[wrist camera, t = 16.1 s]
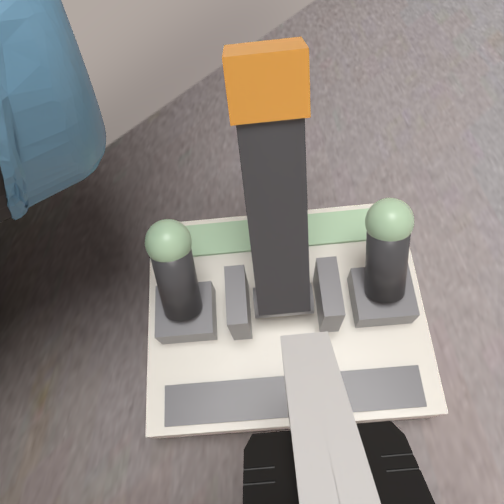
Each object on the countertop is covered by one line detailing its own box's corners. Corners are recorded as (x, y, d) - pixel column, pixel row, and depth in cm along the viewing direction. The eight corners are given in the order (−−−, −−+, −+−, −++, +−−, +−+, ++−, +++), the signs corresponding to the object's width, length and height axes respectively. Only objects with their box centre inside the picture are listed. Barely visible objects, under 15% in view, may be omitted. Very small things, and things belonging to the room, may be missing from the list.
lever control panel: (160, 438, 25) (99, 433, 17) (163, 245, 30) (117, 168, 22) (430, 417, 25) (502, 401, 16) (388, 224, 30) (427, 137, 21)
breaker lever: (256, 330, 23) (222, 57, 15) (255, 299, 25) (224, 45, 17) (315, 325, 23) (308, 48, 15) (309, 294, 25) (301, 36, 17)
